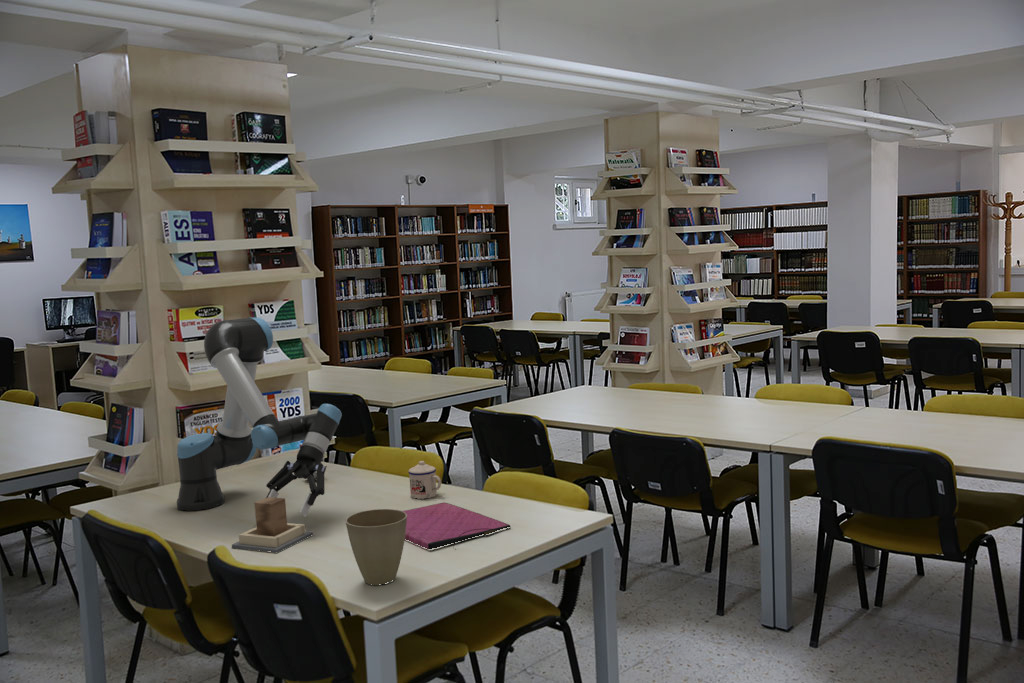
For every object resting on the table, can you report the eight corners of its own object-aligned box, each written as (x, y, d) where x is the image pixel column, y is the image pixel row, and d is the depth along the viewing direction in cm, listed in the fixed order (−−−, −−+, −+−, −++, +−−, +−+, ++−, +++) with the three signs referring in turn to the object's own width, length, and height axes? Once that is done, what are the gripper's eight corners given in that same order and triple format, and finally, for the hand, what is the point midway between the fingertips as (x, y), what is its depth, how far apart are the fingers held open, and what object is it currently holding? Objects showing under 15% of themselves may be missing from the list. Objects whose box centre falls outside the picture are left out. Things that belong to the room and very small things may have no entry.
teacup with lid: (404, 497, 291) (402, 463, 289) (421, 491, 298) (419, 457, 297) (432, 501, 284) (430, 466, 283) (449, 494, 291) (447, 460, 290)
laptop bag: (366, 512, 264) (443, 495, 280) (367, 525, 264) (444, 508, 280) (435, 541, 232) (518, 521, 248) (436, 556, 232) (518, 534, 248)
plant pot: (376, 596, 206) (371, 530, 204) (337, 583, 216) (333, 520, 214) (423, 577, 217) (419, 514, 215) (384, 565, 227) (380, 505, 225)
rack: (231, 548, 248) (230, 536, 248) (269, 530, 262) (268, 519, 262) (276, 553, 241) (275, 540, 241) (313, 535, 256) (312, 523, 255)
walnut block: (257, 540, 250) (254, 502, 249) (271, 533, 256) (268, 497, 255) (274, 542, 248) (271, 504, 247) (288, 535, 253) (285, 498, 252)
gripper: (352, 459, 265) (324, 522, 253) (287, 454, 276) (258, 515, 264) (339, 445, 260) (311, 509, 248) (274, 442, 271) (244, 503, 259)
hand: (283, 512), depth 256 cm, fingers open, 13 cm apart
